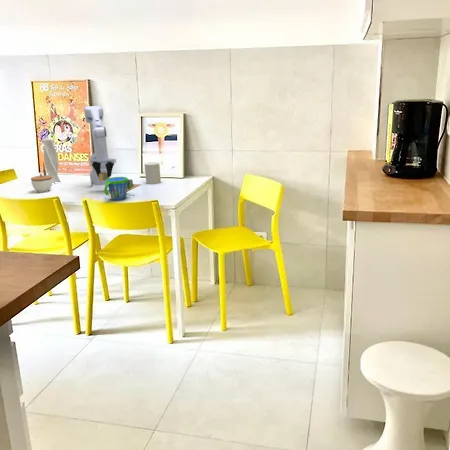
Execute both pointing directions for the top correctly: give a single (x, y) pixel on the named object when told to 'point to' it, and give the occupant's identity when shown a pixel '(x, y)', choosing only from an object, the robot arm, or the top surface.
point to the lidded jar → (42, 182)
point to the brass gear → (103, 176)
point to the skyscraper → (50, 159)
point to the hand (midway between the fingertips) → (104, 176)
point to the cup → (152, 173)
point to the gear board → (133, 187)
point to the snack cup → (117, 187)
